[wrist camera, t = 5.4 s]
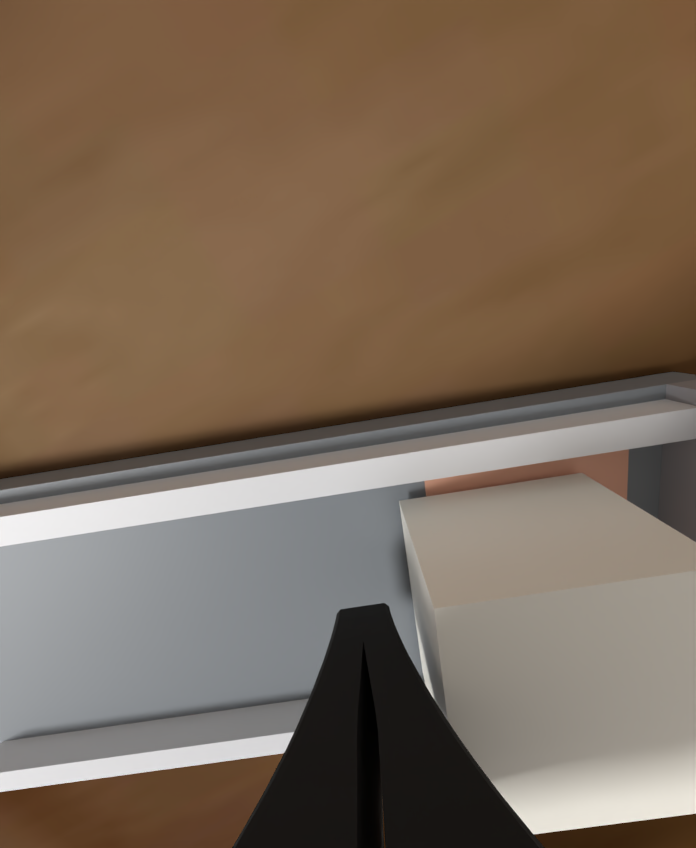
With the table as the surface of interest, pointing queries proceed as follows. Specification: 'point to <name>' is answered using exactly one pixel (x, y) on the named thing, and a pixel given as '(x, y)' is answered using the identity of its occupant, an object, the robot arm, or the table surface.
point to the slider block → (560, 646)
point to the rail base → (266, 566)
